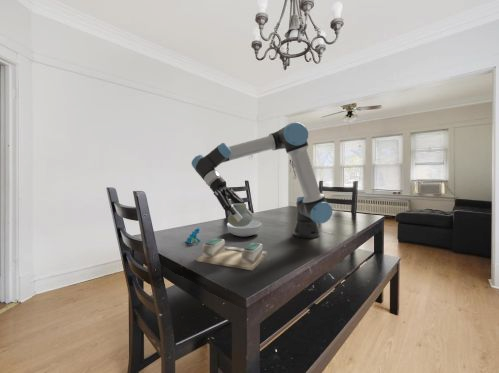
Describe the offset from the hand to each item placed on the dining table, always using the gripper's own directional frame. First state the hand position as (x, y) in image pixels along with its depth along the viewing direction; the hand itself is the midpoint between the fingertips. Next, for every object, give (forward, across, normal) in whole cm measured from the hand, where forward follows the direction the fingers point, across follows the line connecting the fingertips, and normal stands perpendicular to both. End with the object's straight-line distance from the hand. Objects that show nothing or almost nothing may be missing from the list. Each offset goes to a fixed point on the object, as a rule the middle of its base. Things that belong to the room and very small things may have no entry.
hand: (245, 217), depth 105 cm
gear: (-11, -6, -37) cm, 39 cm away
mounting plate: (+10, +6, -15) cm, 18 cm away
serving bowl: (+2, -31, -23) cm, 39 cm away
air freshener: (+1, 0, -5) cm, 5 cm away
